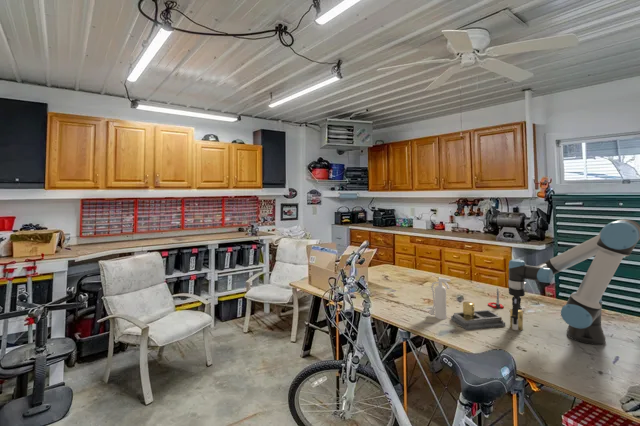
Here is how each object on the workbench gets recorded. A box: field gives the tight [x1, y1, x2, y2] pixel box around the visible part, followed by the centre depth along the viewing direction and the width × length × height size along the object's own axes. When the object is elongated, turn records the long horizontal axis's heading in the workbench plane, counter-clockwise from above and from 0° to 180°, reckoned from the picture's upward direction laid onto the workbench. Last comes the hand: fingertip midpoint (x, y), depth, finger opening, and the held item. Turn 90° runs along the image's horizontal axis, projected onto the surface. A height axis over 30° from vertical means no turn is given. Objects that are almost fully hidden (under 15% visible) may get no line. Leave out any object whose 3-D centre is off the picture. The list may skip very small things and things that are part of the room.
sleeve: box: [509, 308, 524, 332], centre depth 171 cm, size 6×6×10 cm
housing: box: [450, 301, 506, 331], centre depth 180 cm, size 15×24×12 cm, turn 98°
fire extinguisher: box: [428, 276, 451, 320], centre depth 189 cm, size 7×12×25 cm, turn 62°
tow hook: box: [487, 288, 505, 309], centre depth 205 cm, size 8×13×9 cm
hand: (516, 325), depth 171 cm, fingers open, 13 cm apart
